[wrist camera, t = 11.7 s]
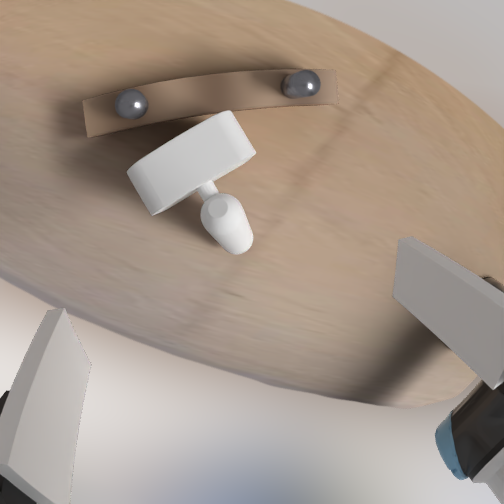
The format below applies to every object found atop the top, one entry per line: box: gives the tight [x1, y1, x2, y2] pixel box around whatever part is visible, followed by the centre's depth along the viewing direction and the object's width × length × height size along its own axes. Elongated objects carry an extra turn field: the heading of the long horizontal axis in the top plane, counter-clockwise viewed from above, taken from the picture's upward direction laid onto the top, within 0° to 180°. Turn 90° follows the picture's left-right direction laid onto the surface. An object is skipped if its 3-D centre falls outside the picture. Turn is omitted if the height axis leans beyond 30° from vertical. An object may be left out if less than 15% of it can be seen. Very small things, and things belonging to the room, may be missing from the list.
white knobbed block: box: [127, 110, 256, 254], centre depth 24 cm, size 8×10×10 cm
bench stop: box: [82, 69, 339, 138], centre depth 22 cm, size 20×3×7 cm, turn 96°
